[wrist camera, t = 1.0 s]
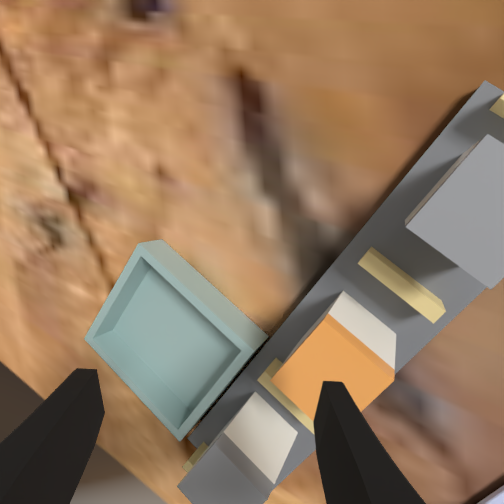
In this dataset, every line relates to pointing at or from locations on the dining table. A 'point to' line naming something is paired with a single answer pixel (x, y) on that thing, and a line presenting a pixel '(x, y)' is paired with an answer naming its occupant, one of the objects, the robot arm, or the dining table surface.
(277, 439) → the block
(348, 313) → the block
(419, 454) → the dining table surface
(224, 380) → the tray
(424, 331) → the block
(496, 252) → the block
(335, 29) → the dining table surface
